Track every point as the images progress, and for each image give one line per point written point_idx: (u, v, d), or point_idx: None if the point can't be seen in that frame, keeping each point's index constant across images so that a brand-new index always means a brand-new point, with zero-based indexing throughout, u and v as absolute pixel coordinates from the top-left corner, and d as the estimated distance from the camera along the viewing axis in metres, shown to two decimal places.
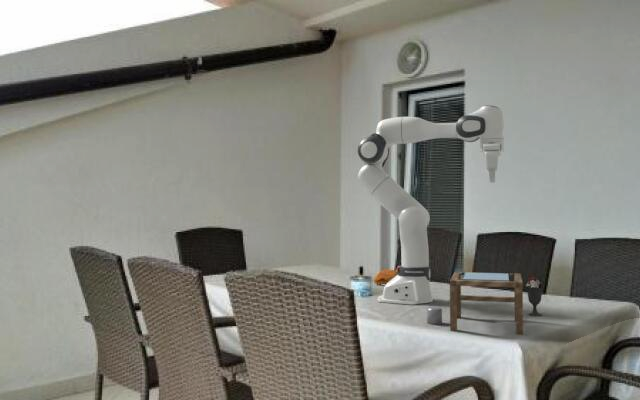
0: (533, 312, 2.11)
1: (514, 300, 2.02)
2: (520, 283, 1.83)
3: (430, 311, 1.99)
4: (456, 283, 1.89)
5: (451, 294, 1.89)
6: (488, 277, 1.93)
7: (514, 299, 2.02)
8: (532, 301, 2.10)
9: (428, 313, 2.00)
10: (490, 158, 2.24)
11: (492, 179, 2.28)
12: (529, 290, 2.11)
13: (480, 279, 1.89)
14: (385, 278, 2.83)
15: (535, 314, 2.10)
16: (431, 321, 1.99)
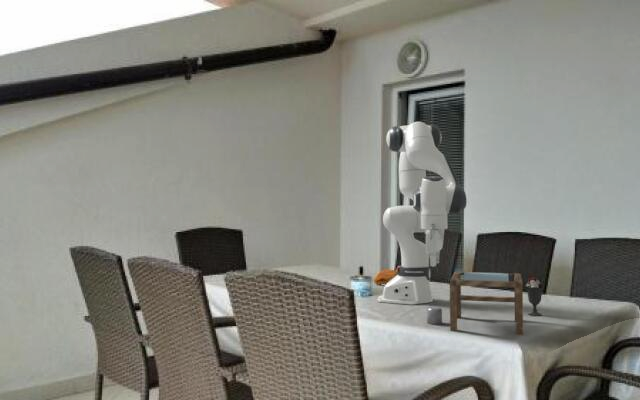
0: (533, 312, 2.11)
1: (514, 300, 2.02)
2: (520, 283, 1.83)
3: (430, 311, 1.99)
4: (456, 283, 1.89)
5: (451, 294, 1.89)
6: (488, 278, 1.93)
7: (514, 299, 2.02)
8: (532, 301, 2.10)
9: (428, 313, 2.00)
10: None
11: None
12: (529, 290, 2.11)
13: (480, 280, 1.89)
14: (385, 278, 2.83)
15: (535, 314, 2.10)
16: (431, 321, 1.99)
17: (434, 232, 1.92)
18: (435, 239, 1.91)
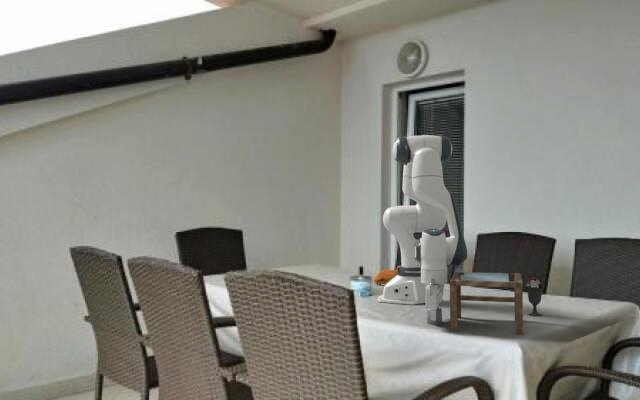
0: (533, 312, 2.11)
1: (514, 300, 2.02)
2: (520, 283, 1.83)
3: None
4: (456, 283, 1.89)
5: (451, 294, 1.89)
6: (488, 278, 1.93)
7: (514, 299, 2.02)
8: (532, 301, 2.10)
9: (428, 313, 2.00)
10: None
11: None
12: (529, 290, 2.11)
13: (480, 280, 1.89)
14: (385, 278, 2.83)
15: (535, 314, 2.10)
16: (431, 321, 1.99)
17: (434, 288, 1.92)
18: (435, 296, 1.91)
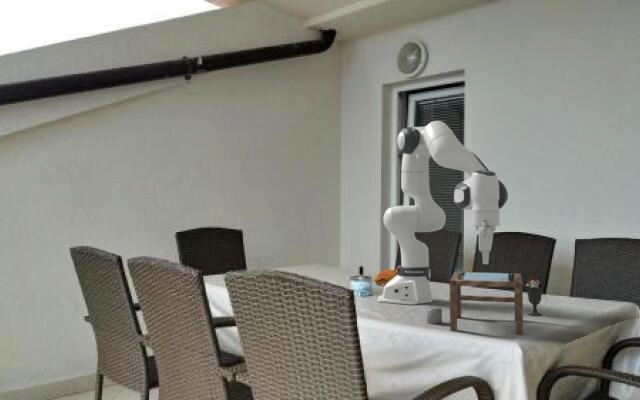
0: (533, 312, 2.11)
1: (514, 300, 2.02)
2: (520, 283, 1.83)
3: (430, 311, 1.99)
4: (456, 283, 1.89)
5: (451, 294, 1.89)
6: (488, 278, 1.93)
7: (514, 299, 2.02)
8: (532, 301, 2.10)
9: (428, 313, 2.00)
10: None
11: None
12: (529, 290, 2.11)
13: (480, 280, 1.89)
14: (385, 278, 2.83)
15: (535, 314, 2.10)
16: (431, 320, 1.99)
17: (488, 229, 1.83)
18: (489, 236, 1.82)
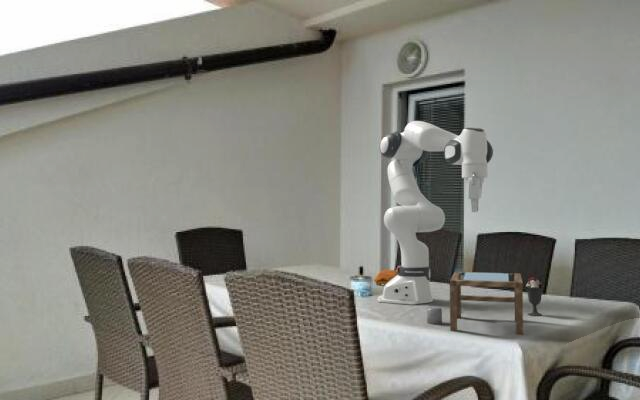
0: (533, 312, 2.11)
1: (514, 300, 2.02)
2: (520, 283, 1.83)
3: (430, 311, 1.99)
4: (456, 283, 1.89)
5: (451, 294, 1.89)
6: (488, 278, 1.93)
7: (514, 299, 2.02)
8: (532, 301, 2.10)
9: (428, 313, 2.00)
10: None
11: None
12: (529, 290, 2.11)
13: (480, 280, 1.89)
14: (385, 278, 2.83)
15: (535, 314, 2.10)
16: (431, 320, 1.99)
17: (476, 179, 2.02)
18: (477, 185, 2.01)
